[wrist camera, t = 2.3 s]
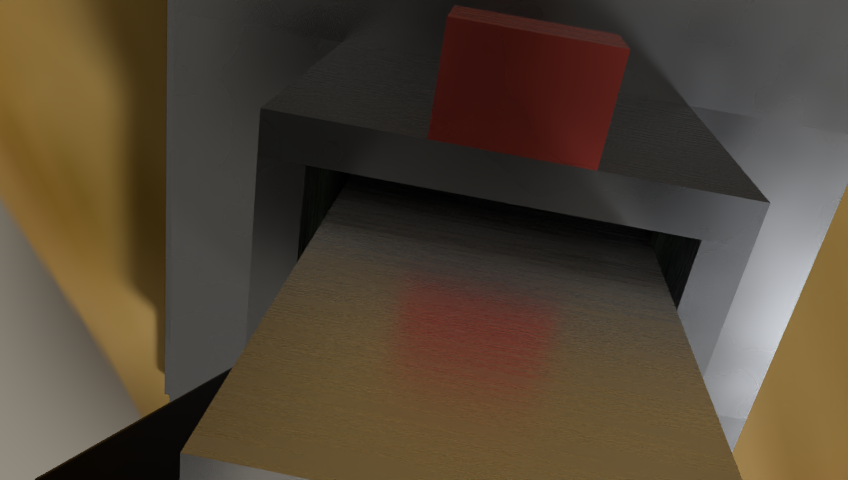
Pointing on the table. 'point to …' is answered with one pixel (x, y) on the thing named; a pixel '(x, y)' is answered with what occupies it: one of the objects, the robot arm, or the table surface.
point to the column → (464, 354)
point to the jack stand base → (509, 146)
